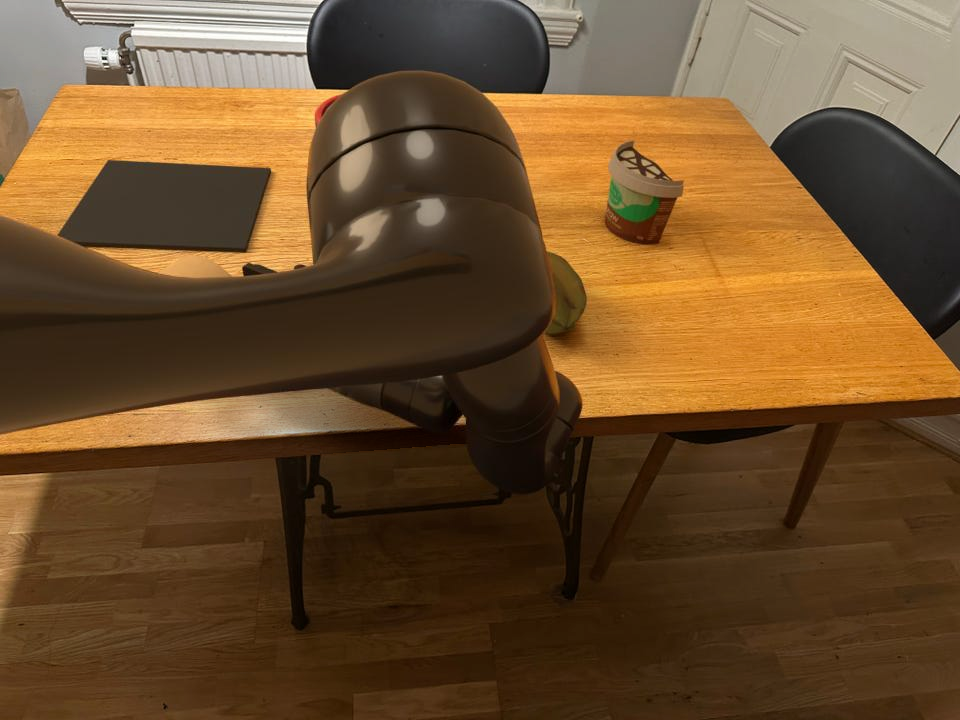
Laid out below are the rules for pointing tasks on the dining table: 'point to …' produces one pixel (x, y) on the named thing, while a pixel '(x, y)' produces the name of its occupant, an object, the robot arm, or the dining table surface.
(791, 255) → the dining table surface
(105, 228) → the mat
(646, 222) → the food container
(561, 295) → the fruit
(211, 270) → the tape roll
